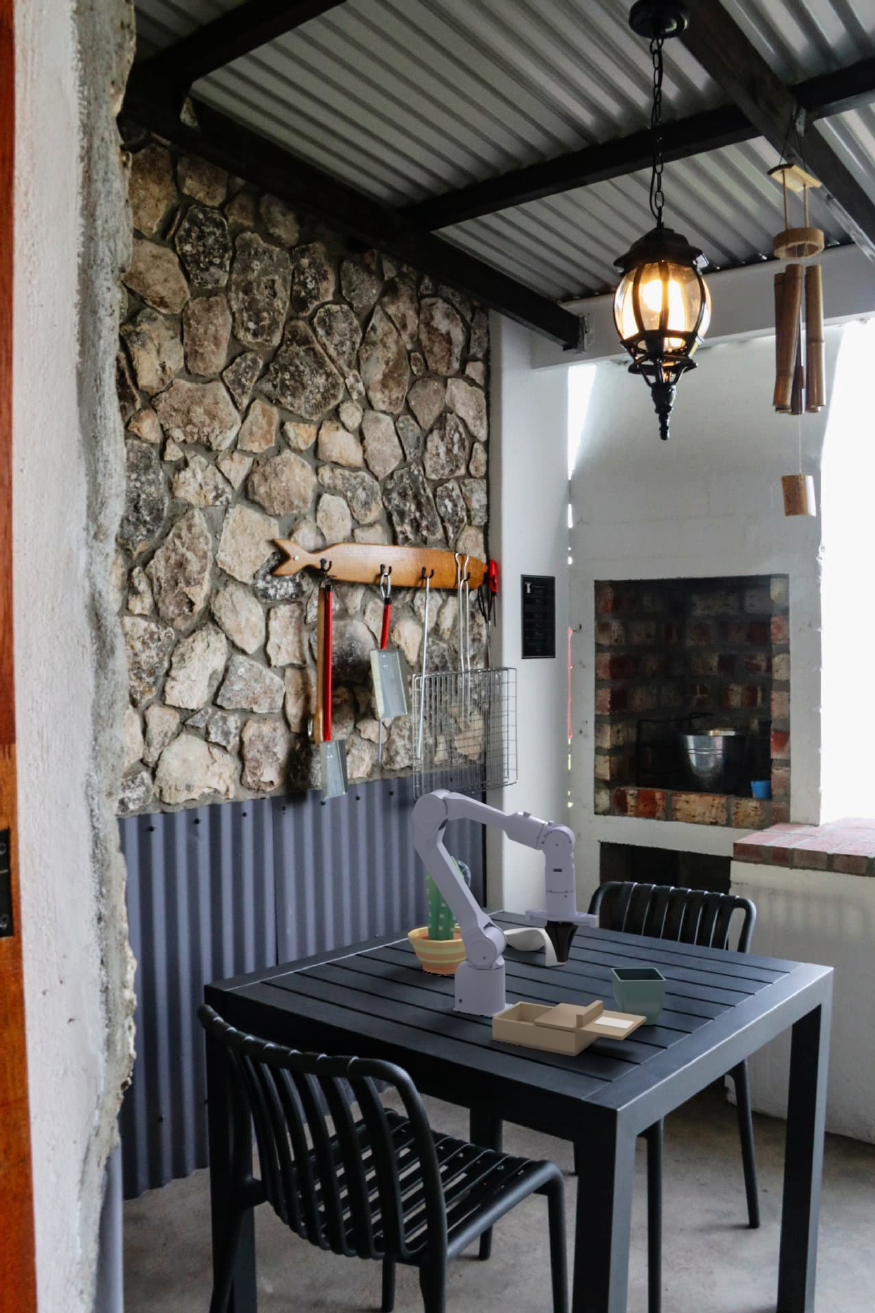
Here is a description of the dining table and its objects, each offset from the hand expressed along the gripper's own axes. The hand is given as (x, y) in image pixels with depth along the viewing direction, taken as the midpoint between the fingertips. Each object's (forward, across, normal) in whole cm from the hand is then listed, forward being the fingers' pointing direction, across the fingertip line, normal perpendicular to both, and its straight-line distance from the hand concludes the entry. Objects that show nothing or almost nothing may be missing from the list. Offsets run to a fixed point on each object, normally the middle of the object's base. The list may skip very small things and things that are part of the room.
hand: (562, 961), depth 206 cm
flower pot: (+11, +14, +4) cm, 18 cm away
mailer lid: (+6, +11, -13) cm, 18 cm away
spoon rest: (+11, -25, +38) cm, 47 cm away
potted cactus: (+10, -36, +16) cm, 41 cm away
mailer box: (+10, +2, -13) cm, 17 cm away
